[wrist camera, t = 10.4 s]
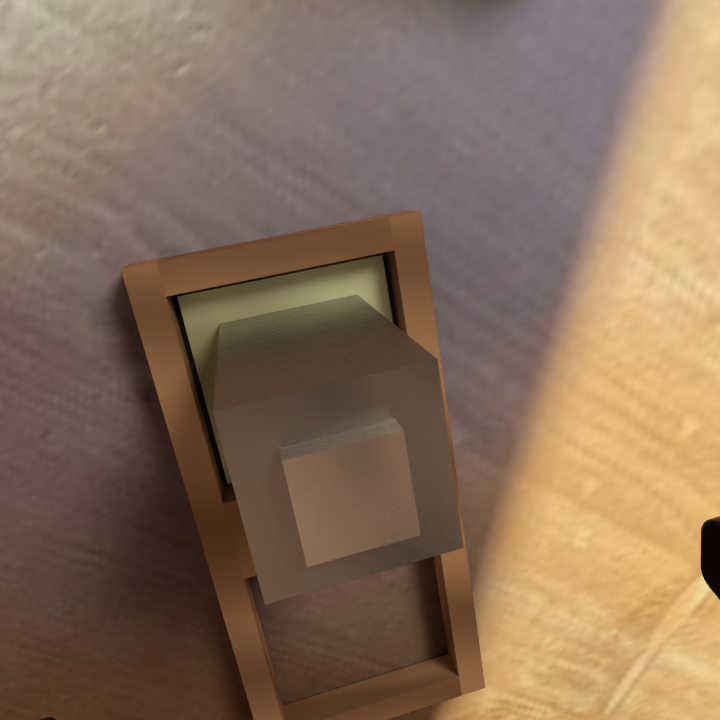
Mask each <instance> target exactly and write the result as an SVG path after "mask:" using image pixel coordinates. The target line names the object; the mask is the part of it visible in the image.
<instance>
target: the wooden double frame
mask: <svg viewBox="0 0 720 720" xmlns="http://www.w3.org/2000/svg"><path fill="white" fill-rule="evenodd" d="M384 252H386V257H387V263H388V270H389V276H390V282H391V289H392V295H393V302H394V308H395V315H396V321H397V327H398V328H399V329H401V330H402V331H403V332H404V333H406V334H407V335H408V336H409V337H411V338H412V339H413V340H414V341H416V342H417V343H418V344H419V345H421V346H422V347H423V348H424V349H426V350H427V351H428V352H429V353H431V354H432V355H433V356H434V357H435V358H437V359H438V366H439V374H440V381H441V388H442V395H443V403H444V410H445V417H446V424H447V431H448V439H449V446H450V453H451V460H452V468H453V475H454V482H455V489H456V497H457V504H458V511H459V518H460V525H461V533H462V540H463V547H464V548H461V549H458V550H454V551H451V552H448V553H444V554H441V555H437V556H434V557H433V558H434V564H435V571H436V577H437V584H438V590H439V596H440V603H441V609H442V616H443V622H444V628H445V635H446V641H447V648H448V654H446V655H443V656H440V657H437V658H434V659H430V660H427V661H424V662H421V663H418V664H414V665H411V666H408V667H405V668H402V669H398V670H395V671H392V672H389V673H386V674H383V675H379V676H376V677H373V678H370V679H367V680H363V681H360V682H357V683H354V684H351V685H347V686H344V687H341V688H338V689H335V690H332V691H328V692H325V693H322V694H319V695H316V696H312V697H309V698H306V699H303V700H300V701H296V702H293V703H290V704H287V705H284V706H283V704H282V700H281V696H280V693H279V689H278V685H277V682H276V678H275V674H274V671H273V667H272V663H271V660H270V656H269V652H268V649H267V645H266V641H265V638H264V634H263V630H262V627H261V623H260V619H259V616H258V612H257V608H256V605H255V601H254V597H253V594H252V590H251V586H250V583H249V579H248V578H250V577H253V576H257V574H256V570H255V566H254V563H253V559H252V555H251V551H250V548H249V544H248V540H247V536H246V533H245V529H244V525H243V522H242V518H241V514H240V510H239V507H238V503H237V499H236V496H235V492H234V488H233V484H231V485H227V486H224V487H223V484H222V480H221V476H220V473H219V469H218V465H217V462H216V458H215V454H214V451H213V447H212V443H211V440H210V436H209V432H208V429H207V425H206V421H205V418H204V414H203V410H202V407H201V403H200V399H199V396H198V392H197V388H196V385H195V381H194V377H193V374H192V370H191V366H190V363H189V359H188V355H187V352H186V348H185V344H184V341H183V337H182V333H181V330H180V326H179V322H178V319H177V315H176V311H175V308H174V304H173V300H172V297H171V296H172V295H177V294H181V295H178V296H177V298H178V302H179V306H180V309H181V313H182V317H183V321H184V324H185V328H186V332H187V335H188V339H189V343H190V346H191V350H192V354H193V358H194V361H195V365H196V369H197V372H198V376H199V380H200V384H201V387H202V391H203V395H204V398H205V402H206V406H207V409H208V413H209V417H210V421H211V424H212V428H213V432H214V435H215V439H216V443H217V446H218V450H219V454H220V458H221V461H222V465H223V469H224V472H225V476H226V480H227V484H230V483H232V481H231V477H230V473H229V469H228V466H227V462H226V458H225V455H224V451H223V447H222V443H221V440H220V436H219V432H218V429H217V425H216V421H215V417H214V414H213V406H214V393H215V379H216V366H217V353H218V339H219V326H220V323H225V322H229V321H234V320H239V319H243V318H248V317H253V316H257V315H262V314H267V313H271V312H276V311H281V310H286V309H290V308H295V307H300V306H304V305H309V304H314V303H318V302H323V301H328V300H332V299H337V298H342V297H346V296H351V295H356V294H357V295H358V296H360V297H361V298H362V299H363V300H365V301H366V302H367V303H368V304H370V305H371V306H372V307H373V308H375V309H376V310H377V311H378V312H380V313H381V314H382V315H383V316H384V317H386V318H387V319H388V320H389V321H391V322H392V323H393V320H392V313H391V307H390V301H389V294H388V288H387V282H386V275H385V269H384V263H383V256H382V255H381V254H379V253H384ZM374 254H379V255H374ZM369 255H374V256H369ZM364 256H369V257H364ZM359 257H364V258H359ZM354 258H359V259H354ZM349 259H354V260H349ZM344 260H349V261H344ZM340 261H344V262H340ZM335 262H339V263H335ZM330 263H334V264H330ZM325 264H329V265H325ZM320 265H324V266H320ZM315 266H319V267H315ZM310 267H314V268H310ZM305 268H310V269H305ZM300 269H305V270H300ZM295 270H300V271H295ZM290 271H295V272H290ZM121 272H122V275H123V279H124V282H125V286H126V289H127V292H128V296H129V299H130V302H131V306H132V309H133V313H134V316H135V319H136V323H137V326H138V330H139V333H140V336H141V340H142V343H143V346H144V350H145V353H146V357H147V360H148V363H149V367H150V370H151V374H152V377H153V380H154V384H155V387H156V391H157V394H158V397H159V401H160V404H161V407H162V411H163V414H164V418H165V421H166V424H167V428H168V431H169V435H170V438H171V441H172V445H173V448H174V451H175V455H176V458H177V462H178V465H179V468H180V472H181V475H182V479H183V482H184V485H185V489H186V492H187V495H188V499H189V502H190V506H191V509H192V512H193V516H194V519H195V523H196V526H197V529H198V533H199V536H200V539H201V543H202V546H203V550H204V553H205V556H206V560H207V563H208V567H209V570H210V573H211V577H212V580H213V583H214V587H215V590H216V594H217V597H218V600H219V604H220V607H221V611H222V614H223V617H224V621H225V624H226V628H227V631H228V634H229V638H230V641H231V644H232V648H233V651H234V655H235V658H236V661H237V665H238V668H239V672H240V675H241V678H242V682H243V685H244V688H245V692H246V695H247V699H248V702H249V705H250V709H251V712H252V716H253V719H254V720H388V719H391V718H394V717H397V716H400V715H403V714H406V713H409V712H412V711H415V710H418V709H421V708H424V707H428V706H431V705H434V704H437V703H440V702H443V701H446V700H449V699H452V698H455V697H458V696H461V695H464V694H467V693H470V692H474V691H477V690H480V689H483V688H485V684H484V676H483V669H482V661H481V654H480V647H479V639H478V632H477V624H476V617H475V610H474V602H473V595H472V587H471V580H470V573H469V565H468V558H467V550H466V543H465V536H464V528H463V521H462V513H461V506H460V499H459V491H458V484H457V477H456V469H455V462H454V454H453V447H452V440H451V432H450V425H449V417H448V410H447V403H446V395H445V388H444V380H443V373H442V366H441V358H440V351H439V343H438V336H437V329H436V321H435V314H434V306H433V299H432V292H431V284H430V277H429V270H428V262H427V255H426V247H425V240H424V233H423V225H422V218H421V212H418V211H405V212H400V213H394V214H389V215H384V216H379V217H374V218H368V219H363V220H358V221H353V222H348V223H342V224H337V225H332V226H327V227H322V228H317V229H311V230H306V231H301V232H296V233H291V234H285V235H280V236H275V237H270V238H265V239H260V240H254V241H249V242H244V243H239V244H234V245H228V246H223V247H218V248H213V249H208V250H202V251H197V252H192V253H187V254H182V255H177V256H171V257H166V258H161V259H156V260H151V261H145V262H140V263H135V264H130V265H127V266H125V267H124V268H123V269H121ZM285 272H290V273H285ZM280 273H285V274H280ZM275 274H280V275H275ZM270 275H275V276H270ZM265 276H270V277H265ZM261 277H265V278H261ZM256 278H260V279H256ZM251 279H255V280H251ZM246 280H250V281H246ZM241 281H245V282H241ZM236 282H240V283H236ZM231 283H236V284H231ZM226 284H231V285H226ZM221 285H226V286H221ZM216 286H221V287H216ZM211 287H216V288H211ZM206 288H211V289H206ZM201 289H206V290H201ZM196 290H201V291H196ZM191 291H196V292H191ZM186 292H191V293H186ZM182 293H186V294H182Z"/></svg>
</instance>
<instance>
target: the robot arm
mask: <svg viewBox="0 0 720 720" xmlns="http://www.w3.org/2000/svg"><path fill="white" fill-rule="evenodd" d="M701 571H702V575H703V577H704V579H705V581H706V583H707V584H708V586H709V587H710V588H711V590H712V591H713V592H714V593H715V595H716V596H717V597H718V598H719V599H720V516H719V517H716V518H712V519H709V520H707V521H705V522H704V524H703V526H702V528H701ZM40 720H56V719H55V718H52V717H47V718H43V719H40Z"/></svg>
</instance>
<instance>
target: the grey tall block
mask: <svg viewBox="0 0 720 720" xmlns="http://www.w3.org/2000/svg"><path fill="white" fill-rule="evenodd" d="M213 414H214V417H215V421H216V425H217V429H218V432H219V436H220V440H221V443H222V447H223V451H224V455H225V458H226V462H227V466H228V469H229V473H230V477H231V481H232V484H233V488H234V492H235V496H236V499H237V503H238V507H239V510H240V514H241V518H242V522H243V525H244V529H245V533H246V536H247V540H248V544H249V548H250V551H251V555H252V559H253V563H254V566H255V570H256V574H257V577H258V581H259V585H260V589H261V592H262V596H263V600H264V603H265V605H267V604H270V603H274V602H277V601H281V600H284V599H288V598H291V597H295V596H298V595H302V594H305V593H308V592H312V591H315V590H319V589H322V588H326V587H329V586H333V585H336V584H340V583H343V582H347V581H350V580H354V579H357V578H361V577H364V576H368V575H371V574H375V573H378V572H381V571H385V570H388V569H392V568H395V567H399V566H402V565H406V564H409V563H413V562H416V561H420V560H423V559H427V558H430V557H434V556H437V555H441V554H444V553H448V552H451V551H454V550H458V549H461V548H464V547H463V540H462V533H461V525H460V518H459V511H458V504H457V497H456V489H455V482H454V475H453V468H452V460H451V453H450V446H449V439H448V431H447V424H446V417H445V410H444V403H443V395H442V388H441V381H440V374H439V366H438V359H437V358H435V357H434V356H433V355H432V354H431V353H429V352H428V351H427V350H426V349H424V348H423V347H422V346H421V345H419V344H418V343H417V342H416V341H414V340H413V339H412V338H411V337H409V336H408V335H407V334H406V333H404V332H403V331H402V330H401V329H399V328H398V327H397V326H396V325H394V324H393V323H392V322H391V321H389V320H388V319H387V318H386V317H384V316H383V315H382V314H381V313H380V312H378V311H377V310H376V309H375V308H373V307H372V306H371V305H370V304H368V303H367V302H366V301H365V300H363V299H362V298H361V297H360V296H358V295H357V294H356V295H351V296H346V297H342V298H337V299H332V300H328V301H323V302H318V303H314V304H309V305H304V306H300V307H295V308H290V309H286V310H281V311H276V312H271V313H267V314H262V315H257V316H253V317H248V318H243V319H239V320H234V321H229V322H225V323H220V326H219V339H218V353H217V366H216V379H215V393H214V406H213Z"/></svg>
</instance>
